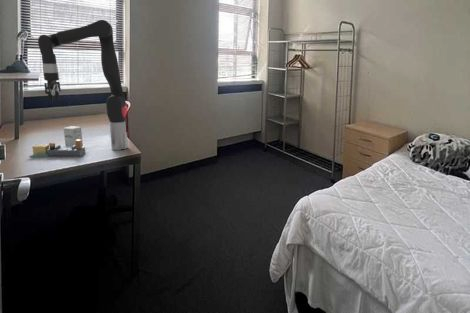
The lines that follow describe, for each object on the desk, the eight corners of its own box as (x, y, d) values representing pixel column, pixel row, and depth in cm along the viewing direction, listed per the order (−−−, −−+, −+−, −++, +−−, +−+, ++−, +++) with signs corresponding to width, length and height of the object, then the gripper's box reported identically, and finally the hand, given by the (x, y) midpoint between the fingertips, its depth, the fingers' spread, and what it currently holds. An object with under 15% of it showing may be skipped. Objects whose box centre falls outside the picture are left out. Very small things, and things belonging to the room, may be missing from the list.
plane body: (85, 153, 198) (83, 138, 196) (80, 156, 190) (78, 141, 188) (54, 153, 197) (52, 138, 194) (47, 156, 189) (45, 141, 187)
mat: (53, 152, 197) (53, 151, 197) (46, 157, 189) (46, 156, 189) (37, 152, 197) (37, 151, 197) (29, 157, 188) (29, 156, 188)
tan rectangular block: (49, 152, 195) (48, 144, 193) (46, 155, 191) (45, 146, 189) (37, 152, 194) (36, 144, 193) (33, 155, 190) (32, 146, 189)
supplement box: (65, 147, 209) (62, 127, 206) (74, 144, 216) (72, 125, 213) (74, 148, 207) (72, 128, 204) (83, 146, 214) (81, 126, 210)
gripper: (51, 72, 184) (55, 102, 189) (62, 71, 198) (66, 99, 202) (37, 72, 184) (41, 101, 188) (49, 71, 197) (53, 99, 202)
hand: (54, 100), depth 195 cm, fingers open, 8 cm apart
